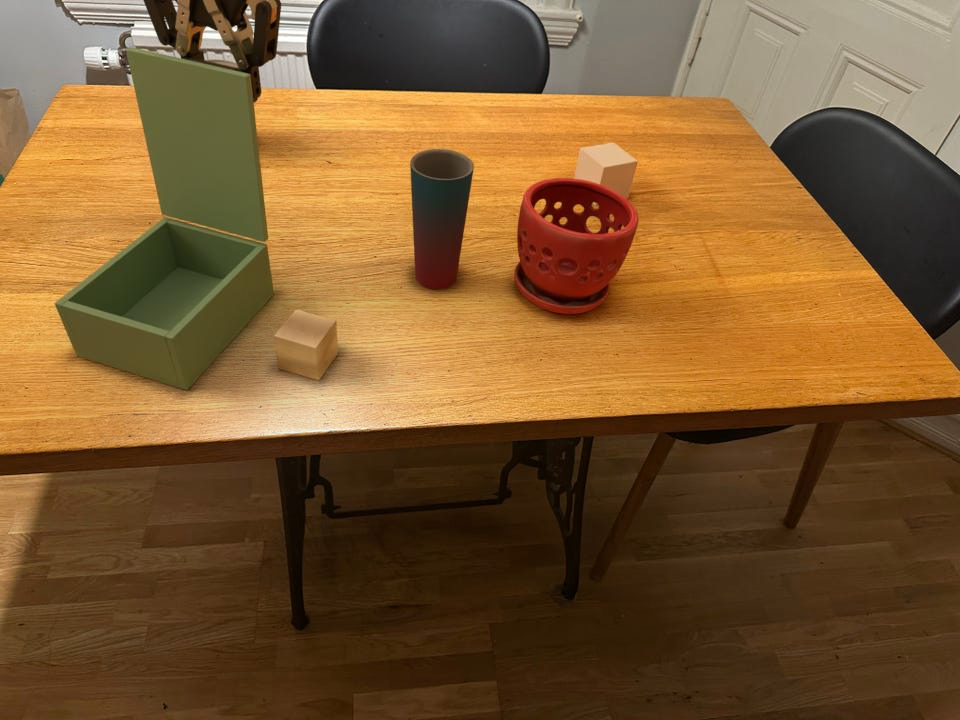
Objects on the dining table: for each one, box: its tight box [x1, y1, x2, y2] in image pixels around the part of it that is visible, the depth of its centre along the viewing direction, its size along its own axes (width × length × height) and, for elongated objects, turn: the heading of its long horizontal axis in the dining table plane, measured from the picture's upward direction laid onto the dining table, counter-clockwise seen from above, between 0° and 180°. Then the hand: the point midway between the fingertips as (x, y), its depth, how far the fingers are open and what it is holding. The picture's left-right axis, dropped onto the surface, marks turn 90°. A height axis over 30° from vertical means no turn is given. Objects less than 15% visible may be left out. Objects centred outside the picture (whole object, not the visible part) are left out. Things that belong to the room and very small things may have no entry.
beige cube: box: [573, 142, 639, 206], centre depth 101 cm, size 6×6×6 cm
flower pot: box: [513, 177, 640, 315], centre depth 81 cm, size 13×13×12 cm
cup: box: [409, 148, 475, 290], centre depth 79 cm, size 7×7×15 cm
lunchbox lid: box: [125, 46, 269, 243], centre depth 71 cm, size 17×13×5 cm
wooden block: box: [273, 309, 339, 381], centre depth 71 cm, size 4×4×4 cm
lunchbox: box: [54, 216, 275, 391], centre depth 72 cm, size 17×13×7 cm
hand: (225, 96), depth 71 cm, fingers closed on lunchbox lid, 5 cm apart
